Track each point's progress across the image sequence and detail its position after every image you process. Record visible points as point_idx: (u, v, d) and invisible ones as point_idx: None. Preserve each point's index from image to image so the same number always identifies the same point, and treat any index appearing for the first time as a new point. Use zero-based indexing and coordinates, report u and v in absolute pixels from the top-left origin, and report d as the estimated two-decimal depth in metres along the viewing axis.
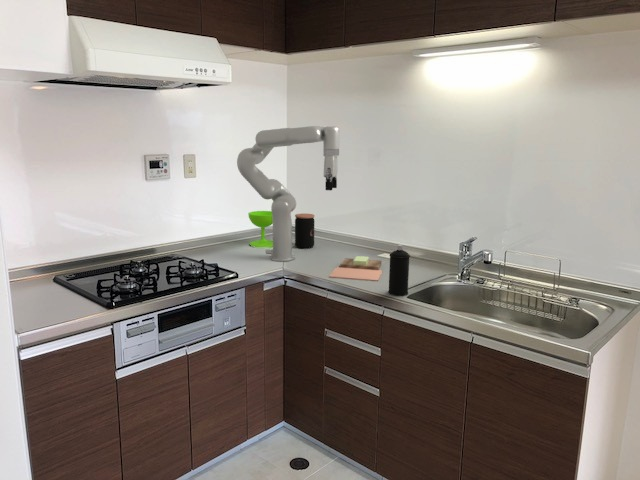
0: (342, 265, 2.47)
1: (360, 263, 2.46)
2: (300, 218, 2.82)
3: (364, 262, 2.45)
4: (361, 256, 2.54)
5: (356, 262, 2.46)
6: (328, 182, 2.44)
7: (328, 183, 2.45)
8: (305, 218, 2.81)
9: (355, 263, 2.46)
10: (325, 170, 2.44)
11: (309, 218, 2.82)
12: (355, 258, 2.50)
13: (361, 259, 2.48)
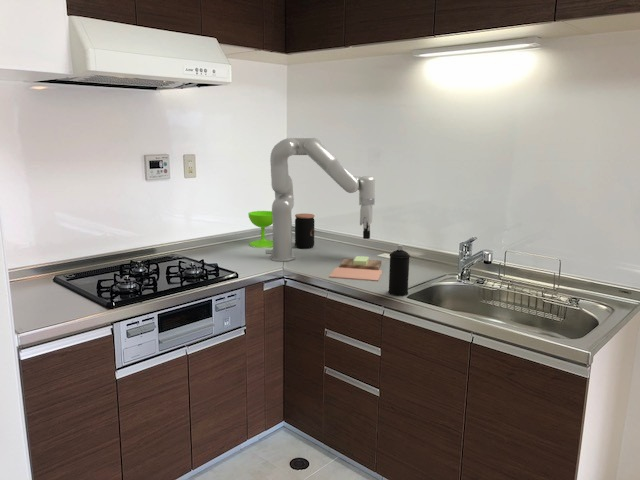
0: (342, 265, 2.47)
1: (360, 263, 2.46)
2: (300, 218, 2.82)
3: (364, 262, 2.45)
4: (361, 256, 2.54)
5: (356, 262, 2.46)
6: (366, 231, 2.57)
7: (366, 232, 2.57)
8: (305, 218, 2.81)
9: (355, 263, 2.46)
10: (361, 219, 2.52)
11: (309, 218, 2.82)
12: (355, 258, 2.50)
13: (361, 259, 2.48)
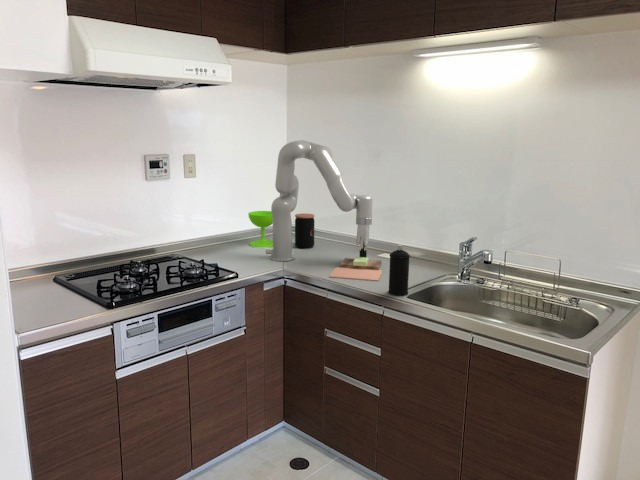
0: (342, 265, 2.47)
1: (360, 264, 2.44)
2: (300, 218, 2.82)
3: (364, 263, 2.43)
4: (361, 257, 2.52)
5: (356, 263, 2.44)
6: (362, 251, 2.52)
7: (362, 252, 2.52)
8: (305, 218, 2.81)
9: (355, 264, 2.45)
10: (358, 239, 2.47)
11: (309, 218, 2.82)
12: (355, 259, 2.48)
13: (361, 260, 2.47)
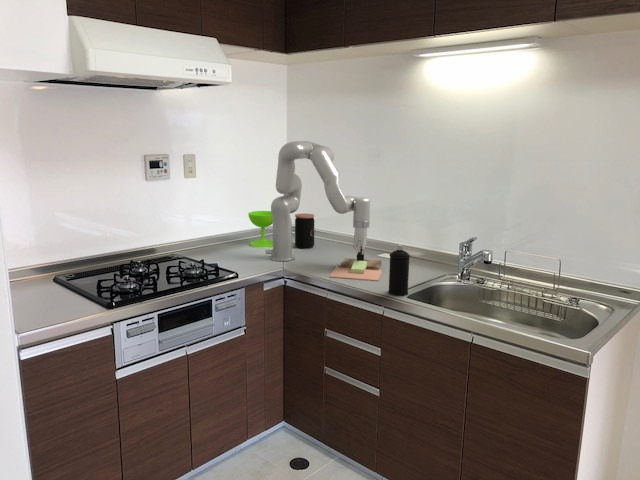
0: (342, 265, 2.47)
1: (358, 271, 2.37)
2: (300, 218, 2.82)
3: (362, 270, 2.37)
4: None
5: (354, 270, 2.38)
6: (359, 255, 2.44)
7: (359, 256, 2.45)
8: (305, 218, 2.81)
9: (353, 271, 2.38)
10: (355, 242, 2.40)
11: (309, 218, 2.82)
12: (353, 264, 2.41)
13: (359, 266, 2.40)
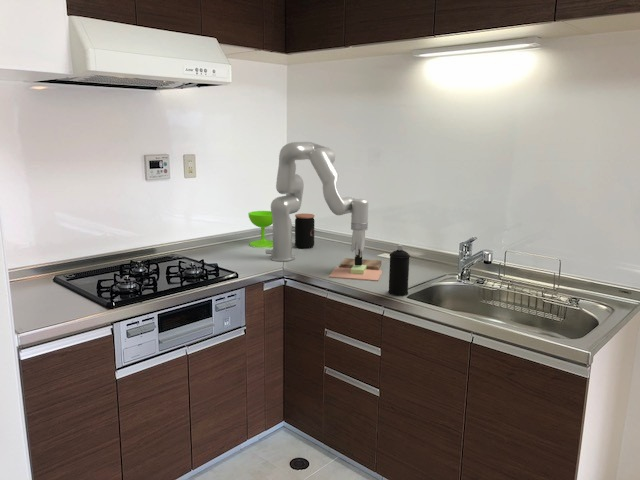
0: (342, 265, 2.47)
1: (357, 272, 2.36)
2: (300, 218, 2.82)
3: (362, 271, 2.36)
4: None
5: (353, 271, 2.36)
6: (358, 257, 2.39)
7: (358, 258, 2.40)
8: (305, 218, 2.81)
9: (352, 272, 2.37)
10: (353, 245, 2.35)
11: (309, 218, 2.82)
12: (352, 267, 2.40)
13: (358, 268, 2.39)
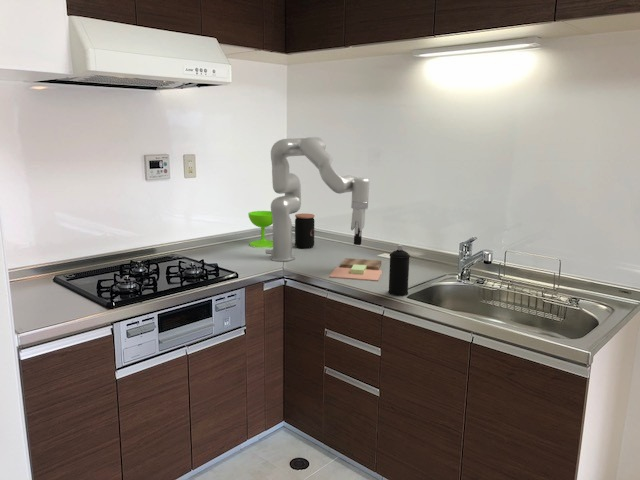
0: (342, 265, 2.47)
1: (357, 272, 2.36)
2: (300, 218, 2.82)
3: (362, 271, 2.36)
4: None
5: (353, 271, 2.36)
6: (357, 237, 2.38)
7: (357, 238, 2.38)
8: (305, 218, 2.81)
9: (352, 272, 2.37)
10: (353, 223, 2.33)
11: (309, 218, 2.82)
12: (352, 267, 2.40)
13: (358, 268, 2.39)
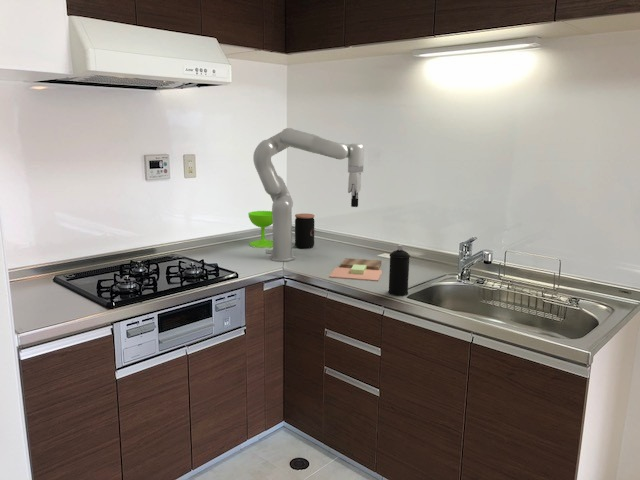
0: (342, 265, 2.47)
1: (357, 272, 2.36)
2: (300, 218, 2.82)
3: (362, 271, 2.36)
4: None
5: (353, 271, 2.36)
6: (354, 199, 2.55)
7: (354, 200, 2.56)
8: (305, 218, 2.81)
9: (352, 272, 2.37)
10: (349, 186, 2.51)
11: (309, 218, 2.82)
12: (352, 267, 2.40)
13: (358, 268, 2.39)
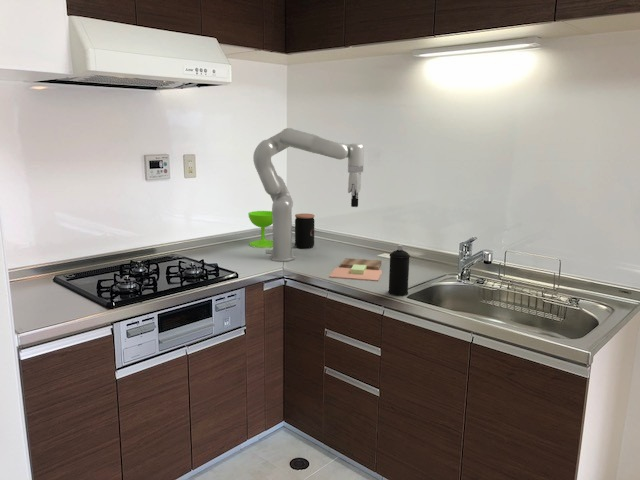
0: (342, 265, 2.47)
1: (357, 272, 2.36)
2: (300, 218, 2.82)
3: (362, 271, 2.36)
4: None
5: (353, 271, 2.36)
6: (354, 199, 2.56)
7: (354, 200, 2.56)
8: (305, 218, 2.81)
9: (352, 272, 2.37)
10: (349, 186, 2.51)
11: (309, 218, 2.82)
12: (352, 267, 2.40)
13: (358, 268, 2.39)
